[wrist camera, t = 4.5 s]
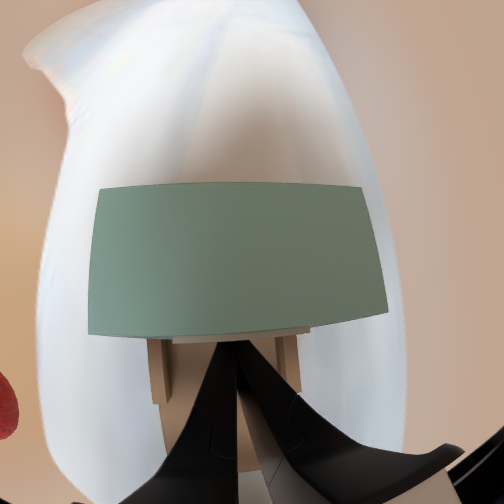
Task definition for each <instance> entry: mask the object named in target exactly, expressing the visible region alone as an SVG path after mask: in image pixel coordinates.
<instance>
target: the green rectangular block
mask: <svg viewBox="0 0 504 504" xmlns="http://www.w3.org/2000/svg"><path fill="white" fill-rule="evenodd" d="M387 312H389V311H388V304H387V298H386V291H385V285H384V280H383V274H382V269H381V264H380V259H379V254H378V250H377V245H376V241H375V237H374V232H373V228H372V224H371V220H370V217H369V213H368V209H367V205H366V202H365V198H364V195H363V191H362V188H361V187H349V186H335V185H319V184H298V183H264V182H213V183H180V184H159V185H143V186H130V187H118V188H107V189H100V191H99V196H98V202H97V208H96V214H95V221H94V229H93V237H92V246H91V256H90V269H89V287H88V334H90V335H101V336H113V337H127V338H146V339H172V342H173V344H176V343H204V342H222V341H237V340H249V339H260V338H270V337H279V336H288V335H296V334H304V333H310V328H311V327H317V326H323V325H328V324H334V323H339V322H345V321H350V320H355V319H360V318H365V317H369V316H374V315H378V314H383V313H387Z"/></svg>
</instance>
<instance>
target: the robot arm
mask: <svg viewBox="0 0 504 504" xmlns="http://www.w3.org/2000/svg"><path fill="white" fill-rule="evenodd" d="M237 393H238V397H239V400H240V403H241V407H242V410H243V414H244V417H245V420H246V424H247V427H248V430H249V434H250V437H251V440H252V443H253V446H254V449H255V452H256V456H257V459H258V462H259V465H260V468H261V471H262V474H263V476H264V479H265V482H266V485H267V487H268V491H269V494H270V496H271V499H272V502H273V504H504V426H503V427H502V428H501V429H499V430H498V431H497V432H496V433H495V434H494V435H493V436H492V437H490V438H489V439H488V440H487V441H486V442H485V443H483V444H482V445H481V446H480V447H478V448H477V449H476V450H475V451H474V452H472V453H471V454H470V455H468V456H467V457H466V458H464V459H463V460H462V461H461V462H459V463H458V464H457V465H455V466H454V467H453V468H451V469H450V470H449V471H446V470H445V467H446V466H447V465H449V464H450V463H452V462H453V461H454V460H456V459H457V458H458V457H460V456H461V455H462V454H463V453H464V452H465V451H464V450H463V449H461V448H459V447H458V446H455V445H451V444H447V443H445V444H443V445H441V446H439V447H438V448H436V449H435V450H433V451H431V452H429V453H426V454H421V455H413V454H404V453H399V452H393V451H387V450H382V449H377V448H372V447H368V446H365V445H362V444H360V443H358V442H356V441H354V440H353V439H351V438H350V437H348V436H347V435H345V434H344V433H343V432H341V431H340V430H339V429H337V428H336V427H335V426H333V425H332V424H331V423H329V422H328V421H327V420H326V419H324V418H323V417H322V416H321V415H319V414H318V413H317V412H316V411H315V410H314V409H313V408H312V407H310V406H309V405H308V404H307V403H306V402H305V401H304V400H303V399H302V397H301V396H300V395H297V392H296V391H295V390H294V389H293V388H292V387H291V386H290V385H289V384H288V383H287V382H286V381H285V379H284V378H283V377H282V376H281V375H280V374H279V373H278V372H277V371H276V370H275V369H274V367H273V366H272V365H271V364H270V363H269V362H268V361H267V360H266V359H265V357H264V356H263V355H262V354H261V353H260V352H259V351H258V349H257V348H256V347H255V346H254V345H253V344H252V343H251V341H250V340H237V341H222V342H217V344H216V347H215V349H214V352H213V354H212V357H211V360H210V362H209V365H208V367H207V370H206V373H205V375H204V378H203V380H202V383H201V386H200V388H199V391H198V393H197V396H196V399H195V401H194V404H193V406H192V409H191V411H190V414H189V416H188V418H187V421H186V423H185V425H184V427H183V429H182V431H181V433H180V435H179V437H178V439H177V440H176V442H175V444H174V445H173V447H172V449H171V450H170V452H169V454H168V455H167V457H166V459H165V460H164V462H163V464H162V465H161V467H160V468H159V470H158V471H157V472H156V473H155V475H154V476H153V477H152V478H151V479H150V480H148V481H147V482H146V483H145V484H143V485H142V486H141V487H140V488H138V489H137V490H136V491H135V492H133V493H132V494H131V495H129V496H128V497H127V498H125V499H124V500H123V501H121V502H120V503H119V504H239V498H238V455H237ZM0 504H12V503H10V502H8V501H6V500H4V499H2V498H0ZM71 504H83V503H79V502H72V503H71Z"/></svg>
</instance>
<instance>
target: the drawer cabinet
mask: <svg viewBox="0 0 504 504" xmlns="http://www.w3.org/2000/svg"><path fill="white" fill-rule="evenodd" d="M249 340H250V341H251V343H252V344H253V345H254V346H255V347H256V348H257V349H258V351H259V352H260V353H261V354H262V355H263V356H264V357H265V359H266V360H267V361H268V362H269V363H270V364H271V365H272V366H273V367H274V369H275V370H276V371H277V372H278V373H279V374H280V375H281V376H282V377H283V378H284V379H285V381H286V382H287V383H288V384H289V385H290V386H291V387H292V388H293V389H294V390H295V391H296V392H297V393H299V392H301V382H300V370H299V359H298V349H297V339H296V335H288V336H279V337H270V338H260V339H249ZM216 344H217V342H204V343H176V344H173V342H172V339H147V349H148V362H149V373H150V383H151V392H152V400H153V404H159V411H160V418H161V424H162V430H163V436H164V442H165V447H166V452H167V455H168V454H169V452H170V450H171V449H172V447H173V445H174V444H175V442H176V440H177V439H178V437H179V435H180V433H181V431H182V429H183V427H184V425H185V423H186V421H187V418H188V416H189V414H190V411H191V409H192V406H193V404H194V401H195V399H196V396H197V393H198V391H199V388H200V386H201V383H202V380H203V378H204V375H205V373H206V370H207V367H208V365H209V362H210V360H211V357H212V354H213V352H214V349H215V347H216ZM237 455H238V472H247V471H255V470H261V468H260V465H259V462H258V459H257V456H256V452H255V449H254V446H253V443H252V440H251V437H250V434H249V430H248V427H247V424H246V420H245V417H244V414H243V410H242V407H241V403H240V400H239V397H238V393H237Z"/></svg>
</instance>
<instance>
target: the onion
mask: <svg viewBox="0 0 504 504" xmlns="http://www.w3.org/2000/svg"><path fill="white" fill-rule="evenodd" d="M18 418H19V409H18V402H17V399H16V396H15V393H14V391H13V389H12V387H11V385H10V384H9V382H8V380H7V379H6V378H5V377H4V376H3V374H2V373H1V372H0V440H1V439H6V438H7V437H9V436H10V435H11V434H12V433H13V432H14V431H15V430H16V428H17V425H18Z"/></svg>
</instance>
